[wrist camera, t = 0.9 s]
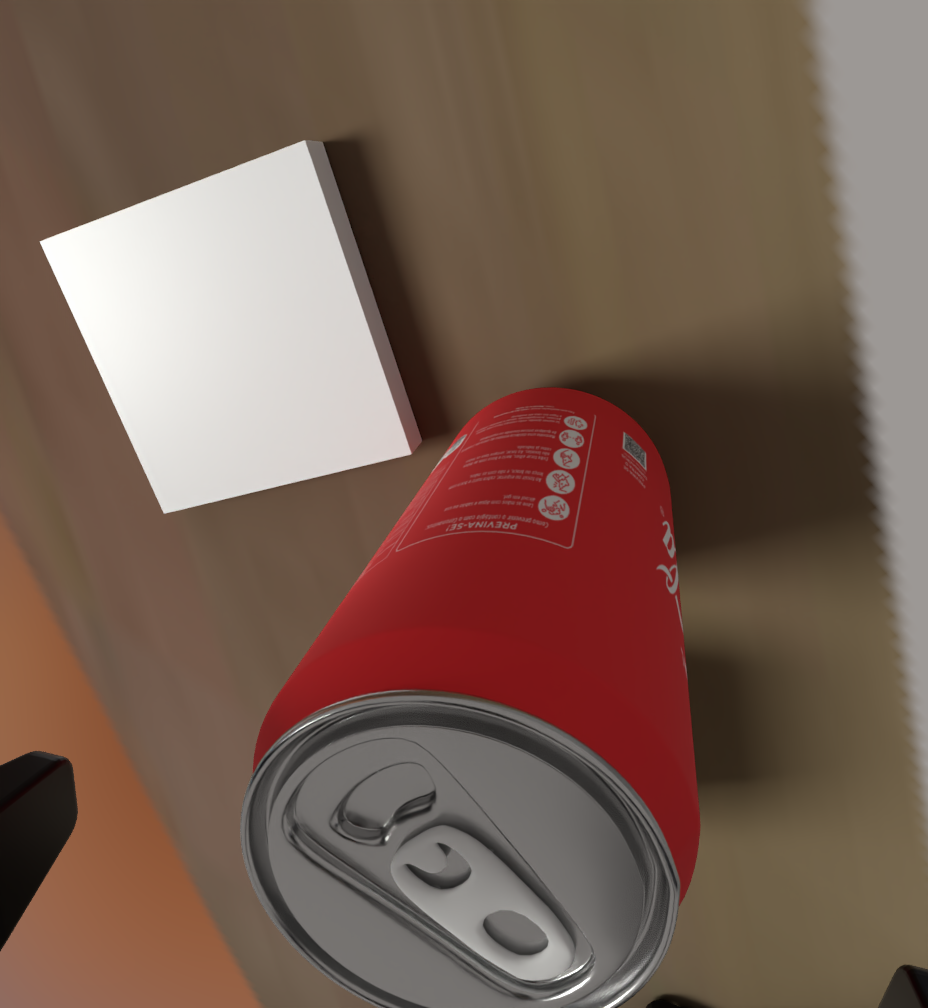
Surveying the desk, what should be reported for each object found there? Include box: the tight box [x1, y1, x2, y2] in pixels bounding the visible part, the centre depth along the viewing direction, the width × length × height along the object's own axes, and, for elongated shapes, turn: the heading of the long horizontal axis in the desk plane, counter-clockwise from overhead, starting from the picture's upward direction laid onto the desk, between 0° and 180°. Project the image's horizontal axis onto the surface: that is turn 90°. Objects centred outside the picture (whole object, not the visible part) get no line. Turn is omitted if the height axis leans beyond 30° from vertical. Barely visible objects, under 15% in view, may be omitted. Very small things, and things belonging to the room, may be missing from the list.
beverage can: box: [240, 387, 700, 1008], centre depth 14 cm, size 5×5×12 cm
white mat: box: [40, 140, 422, 514], centre depth 19 cm, size 7×7×1 cm
